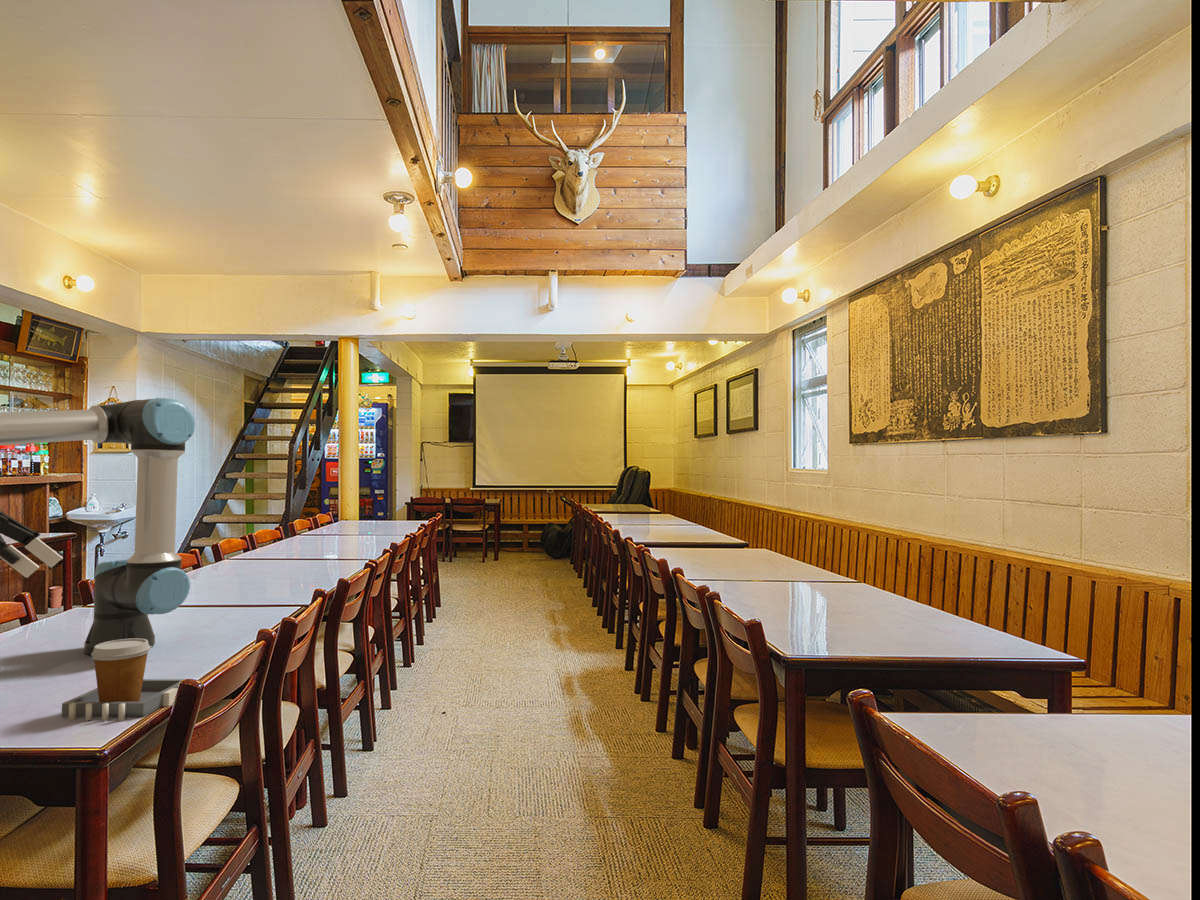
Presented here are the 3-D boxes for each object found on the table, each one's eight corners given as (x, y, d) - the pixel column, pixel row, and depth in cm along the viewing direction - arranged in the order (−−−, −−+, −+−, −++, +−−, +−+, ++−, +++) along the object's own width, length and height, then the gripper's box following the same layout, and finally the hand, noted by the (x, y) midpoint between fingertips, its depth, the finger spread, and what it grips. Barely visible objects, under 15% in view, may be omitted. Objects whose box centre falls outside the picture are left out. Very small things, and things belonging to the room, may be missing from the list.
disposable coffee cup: (111, 698, 137) (112, 637, 138) (159, 697, 138) (161, 637, 138) (76, 714, 128) (78, 650, 128) (129, 714, 128) (131, 649, 128)
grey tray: (115, 691, 143) (116, 677, 143) (194, 691, 143) (194, 677, 143) (53, 721, 126) (53, 704, 126) (142, 721, 126) (143, 704, 126)
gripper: (-36, 505, 145) (50, 571, 150) (-101, 514, 122) (3, 592, 127) (-4, 480, 147) (80, 546, 152) (-62, 484, 124) (39, 562, 129)
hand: (45, 567), depth 140 cm, fingers open, 13 cm apart
